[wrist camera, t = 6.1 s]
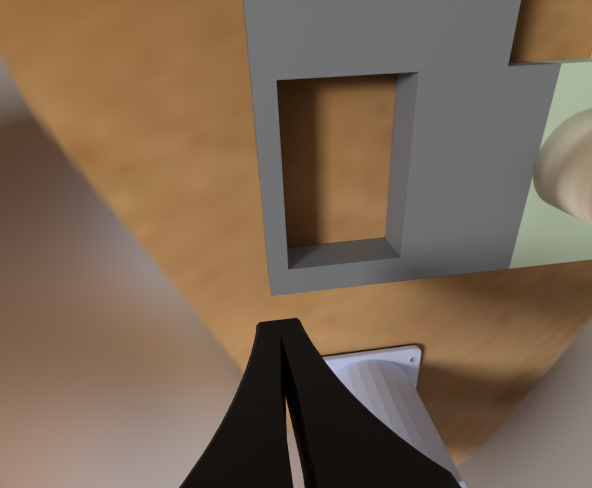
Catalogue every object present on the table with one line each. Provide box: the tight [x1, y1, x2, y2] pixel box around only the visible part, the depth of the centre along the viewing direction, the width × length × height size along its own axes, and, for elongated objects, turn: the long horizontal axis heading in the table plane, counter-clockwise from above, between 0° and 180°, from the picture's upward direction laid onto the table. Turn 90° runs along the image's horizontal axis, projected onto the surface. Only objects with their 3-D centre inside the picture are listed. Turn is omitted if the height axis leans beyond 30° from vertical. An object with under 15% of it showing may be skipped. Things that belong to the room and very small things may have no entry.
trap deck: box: [243, 0, 592, 296], centre depth 18 cm, size 17×20×4 cm
